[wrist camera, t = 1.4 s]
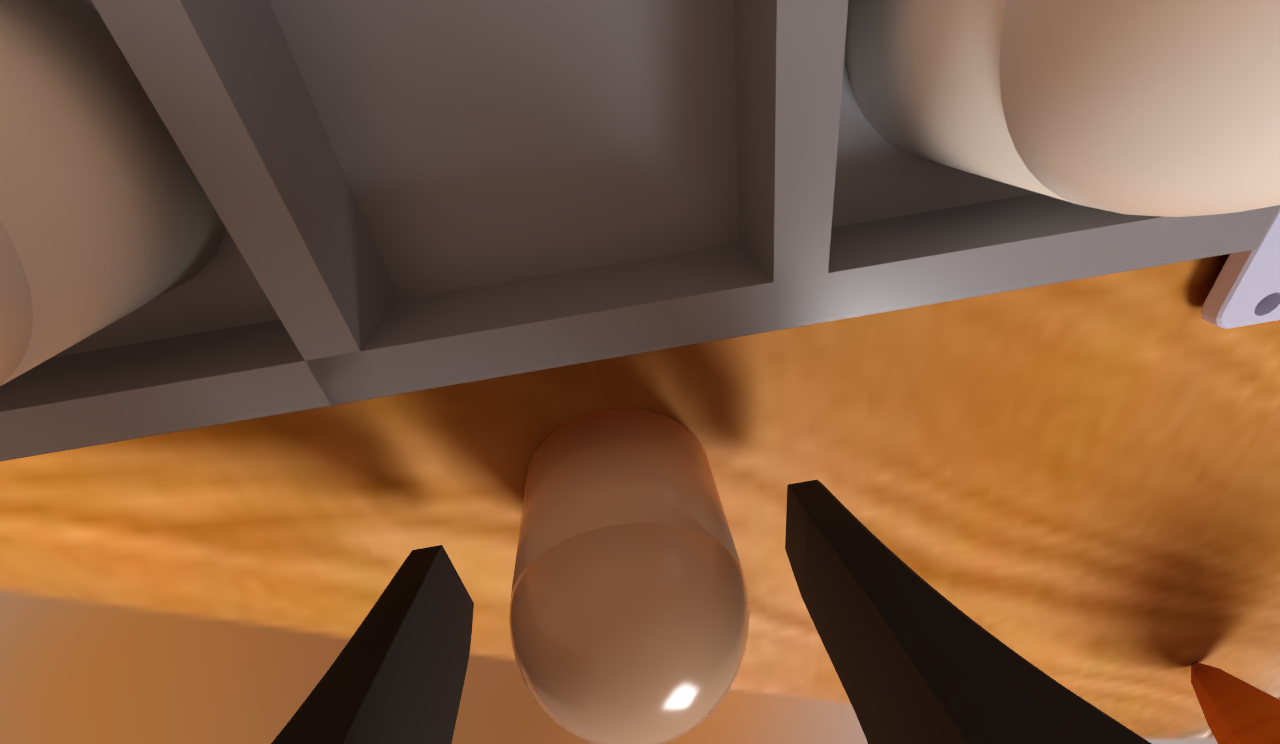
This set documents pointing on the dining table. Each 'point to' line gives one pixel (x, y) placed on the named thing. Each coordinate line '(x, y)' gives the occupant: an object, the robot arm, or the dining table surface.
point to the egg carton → (574, 182)
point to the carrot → (1235, 707)
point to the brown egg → (626, 581)
